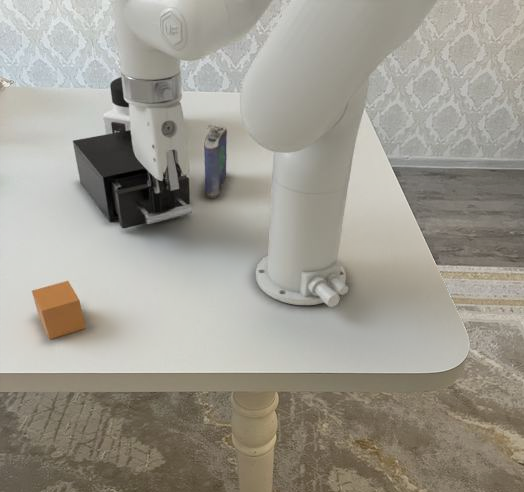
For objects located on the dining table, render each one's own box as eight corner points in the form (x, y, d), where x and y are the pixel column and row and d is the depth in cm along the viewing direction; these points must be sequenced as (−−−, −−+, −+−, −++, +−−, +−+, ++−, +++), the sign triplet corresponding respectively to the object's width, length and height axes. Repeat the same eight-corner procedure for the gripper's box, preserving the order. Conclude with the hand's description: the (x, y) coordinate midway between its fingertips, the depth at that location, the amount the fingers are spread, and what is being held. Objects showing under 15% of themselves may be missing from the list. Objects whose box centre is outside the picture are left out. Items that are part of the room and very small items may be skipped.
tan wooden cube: (85, 328, 74) (79, 299, 71) (49, 339, 72) (41, 311, 69) (74, 308, 77) (68, 280, 74) (39, 319, 75) (31, 290, 72)
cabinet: (183, 204, 98) (180, 160, 93) (109, 222, 93) (102, 177, 88) (148, 168, 107) (144, 127, 102) (80, 183, 102) (72, 140, 97)
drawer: (206, 228, 91) (205, 194, 87) (136, 247, 86) (132, 211, 82) (157, 177, 103) (154, 144, 99) (93, 191, 98) (87, 157, 94)
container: (145, 163, 108) (138, 90, 99) (108, 156, 110) (97, 83, 101) (164, 147, 114) (158, 76, 105) (128, 140, 115) (119, 70, 107)
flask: (218, 199, 99) (216, 137, 92) (201, 198, 99) (198, 135, 92) (228, 175, 106) (228, 115, 99) (212, 173, 106) (210, 113, 99)
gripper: (204, 100, 73) (208, 230, 85) (156, 64, 82) (166, 186, 95) (146, 110, 70) (159, 243, 82) (104, 72, 79) (121, 196, 92)
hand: (163, 212), depth 88 cm, fingers closed
